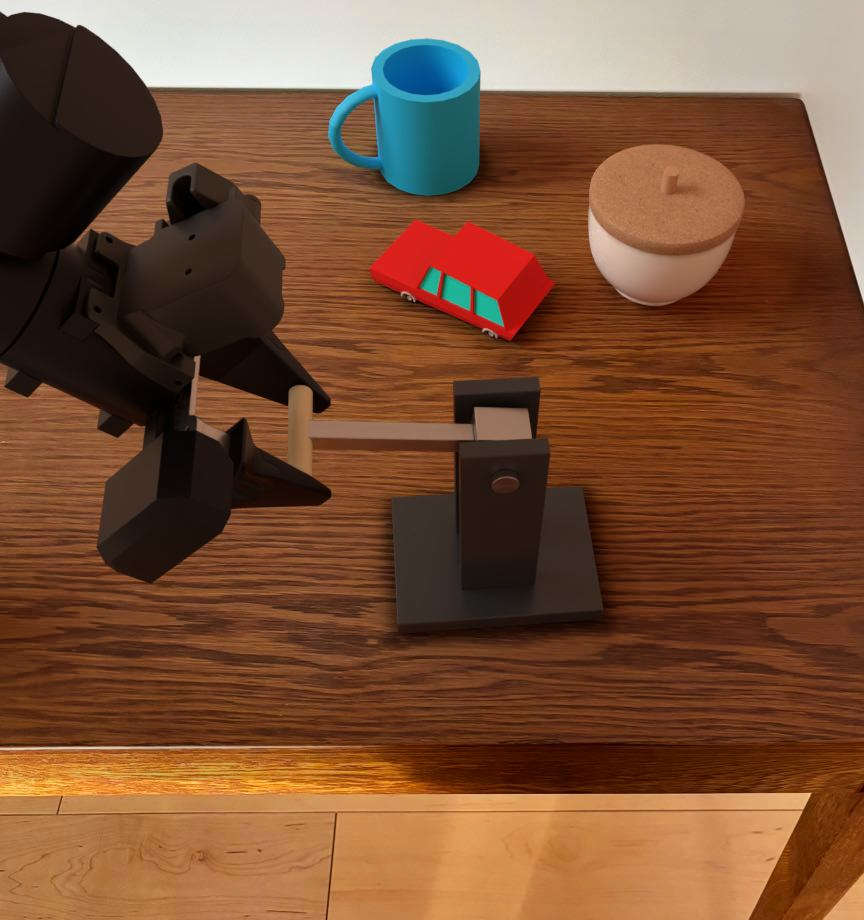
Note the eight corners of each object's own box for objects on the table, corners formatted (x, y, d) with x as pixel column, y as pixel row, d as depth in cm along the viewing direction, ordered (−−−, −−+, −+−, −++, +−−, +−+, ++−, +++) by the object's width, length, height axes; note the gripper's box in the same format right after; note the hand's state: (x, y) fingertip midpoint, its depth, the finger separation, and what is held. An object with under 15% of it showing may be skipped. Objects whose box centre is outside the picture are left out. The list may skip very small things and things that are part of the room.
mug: (461, 124, 85) (461, 31, 78) (492, 184, 81) (495, 91, 74) (322, 150, 83) (309, 55, 76) (346, 213, 79) (335, 119, 72)
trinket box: (630, 348, 72) (651, 243, 64) (552, 256, 77) (562, 149, 69) (750, 298, 75) (783, 193, 67) (667, 213, 80) (690, 106, 72)
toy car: (418, 236, 78) (416, 192, 74) (555, 294, 75) (560, 251, 71) (370, 286, 74) (366, 243, 71) (512, 349, 71) (515, 307, 68)
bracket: (398, 634, 59) (382, 496, 47) (392, 507, 64) (376, 354, 52) (601, 619, 60) (634, 481, 48) (580, 496, 65) (605, 343, 53)
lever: (287, 494, 49) (286, 463, 47) (289, 407, 52) (288, 375, 50) (528, 496, 51) (536, 467, 50) (516, 413, 54) (524, 383, 52)
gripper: (101, 363, 32) (452, 537, 42) (154, 28, 42) (426, 235, 52) (-58, 519, 37) (284, 638, 48) (22, 191, 48) (291, 348, 58)
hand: (326, 451), depth 51 cm, fingers closed on lever, 5 cm apart
